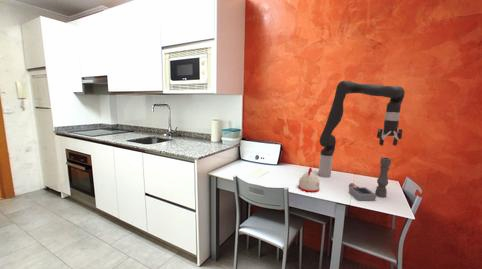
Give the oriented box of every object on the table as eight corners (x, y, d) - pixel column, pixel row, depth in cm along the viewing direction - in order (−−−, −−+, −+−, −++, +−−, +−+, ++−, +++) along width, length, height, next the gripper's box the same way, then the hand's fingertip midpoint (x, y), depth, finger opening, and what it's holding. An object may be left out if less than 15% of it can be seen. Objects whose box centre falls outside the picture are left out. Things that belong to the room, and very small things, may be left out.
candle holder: (382, 193, 149) (387, 157, 144) (388, 197, 142) (394, 160, 138) (373, 193, 148) (378, 157, 144) (378, 197, 142) (384, 159, 138)
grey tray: (343, 189, 155) (344, 182, 154) (358, 189, 155) (359, 182, 154) (358, 201, 137) (359, 194, 136) (375, 201, 138) (376, 194, 137)
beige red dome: (296, 189, 151) (297, 168, 148) (300, 182, 163) (302, 163, 160) (317, 194, 145) (319, 172, 142) (320, 187, 157) (322, 166, 154)
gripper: (398, 119, 140) (394, 144, 143) (376, 118, 140) (373, 143, 143) (407, 120, 133) (403, 146, 136) (384, 120, 132) (380, 146, 135)
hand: (387, 145), depth 139 cm, fingers open, 8 cm apart
